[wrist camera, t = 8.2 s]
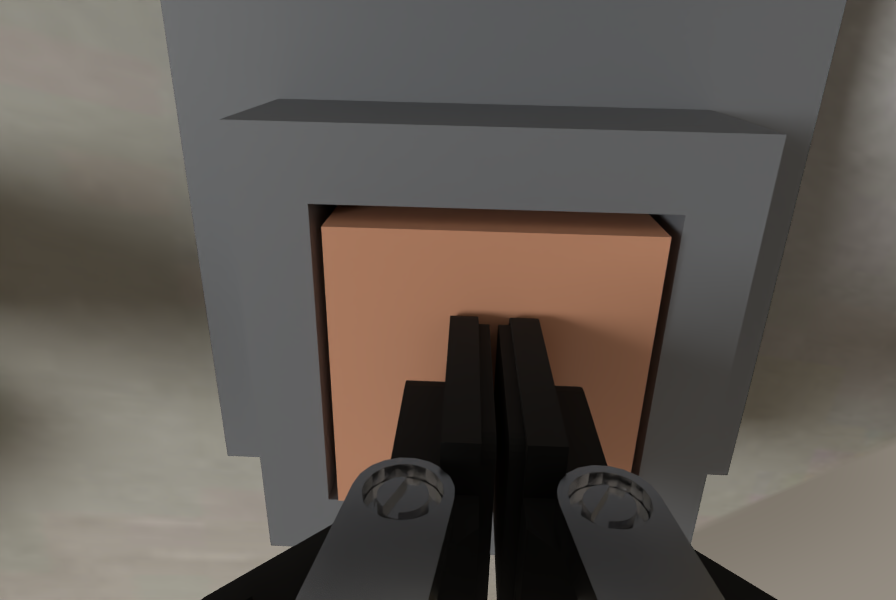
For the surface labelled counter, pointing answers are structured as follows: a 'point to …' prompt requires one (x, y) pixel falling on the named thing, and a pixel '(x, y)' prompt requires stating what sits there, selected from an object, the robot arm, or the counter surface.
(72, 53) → the counter surface
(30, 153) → the counter surface
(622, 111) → the button panel
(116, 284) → the counter surface
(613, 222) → the terracotta button
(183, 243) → the counter surface
